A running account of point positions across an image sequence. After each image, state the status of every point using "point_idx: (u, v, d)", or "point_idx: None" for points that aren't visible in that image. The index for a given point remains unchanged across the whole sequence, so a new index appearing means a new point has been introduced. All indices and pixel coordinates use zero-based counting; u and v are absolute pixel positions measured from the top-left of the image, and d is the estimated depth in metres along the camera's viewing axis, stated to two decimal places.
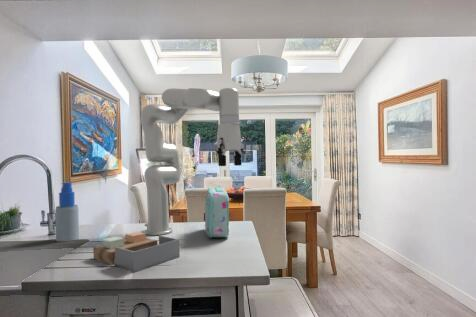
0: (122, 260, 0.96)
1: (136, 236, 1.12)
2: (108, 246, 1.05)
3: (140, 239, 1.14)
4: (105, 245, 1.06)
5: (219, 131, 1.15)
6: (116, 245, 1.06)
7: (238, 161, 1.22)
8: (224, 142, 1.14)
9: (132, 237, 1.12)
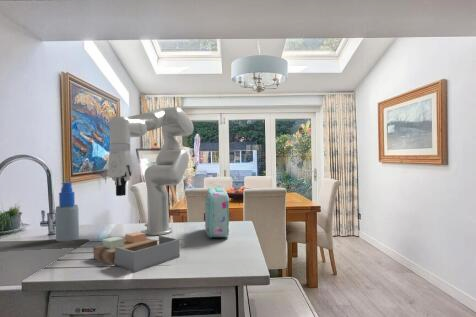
0: (122, 260, 0.96)
1: (136, 236, 1.12)
2: (108, 246, 1.05)
3: (140, 239, 1.14)
4: (105, 245, 1.06)
5: (125, 158, 1.17)
6: (116, 245, 1.06)
7: None
8: (129, 175, 1.19)
9: (132, 237, 1.12)
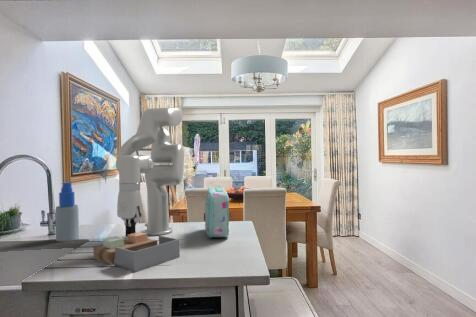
0: (122, 260, 0.96)
1: (138, 236, 1.12)
2: (108, 246, 1.05)
3: (142, 240, 1.13)
4: (105, 245, 1.06)
5: (135, 199, 1.13)
6: (116, 245, 1.06)
7: None
8: (139, 216, 1.15)
9: (134, 237, 1.11)
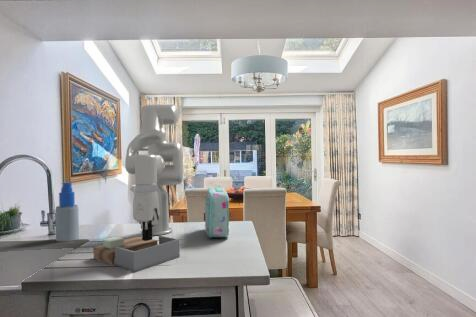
0: (122, 260, 0.96)
1: None
2: (108, 246, 1.05)
3: None
4: (105, 245, 1.06)
5: (152, 201, 1.07)
6: (116, 245, 1.06)
7: None
8: None
9: None
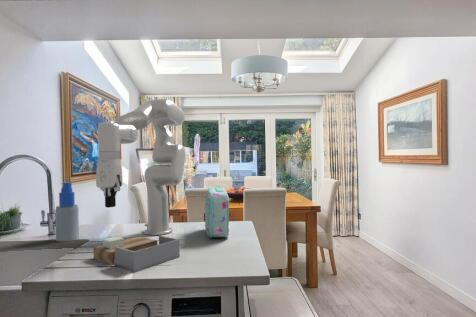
0: (122, 260, 0.96)
1: None
2: (108, 246, 1.05)
3: None
4: (105, 245, 1.06)
5: (115, 168, 1.09)
6: (116, 245, 1.06)
7: None
8: None
9: None
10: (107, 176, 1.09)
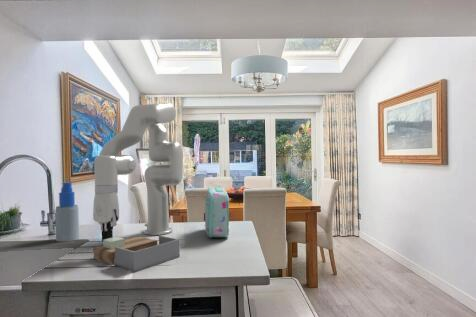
0: (122, 260, 0.96)
1: None
2: (109, 246, 1.05)
3: None
4: (106, 245, 1.06)
5: (111, 202, 1.06)
6: (117, 245, 1.06)
7: None
8: (116, 220, 1.09)
9: None
10: (103, 211, 1.06)
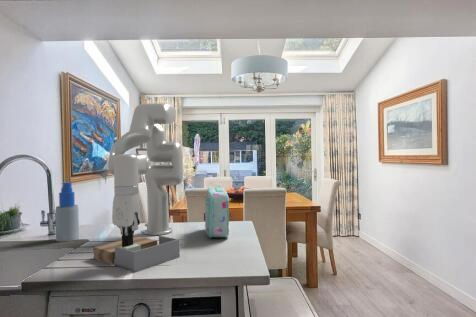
0: (122, 260, 0.96)
1: None
2: None
3: None
4: None
5: (132, 205, 0.99)
6: None
7: None
8: None
9: None
10: (124, 214, 0.99)
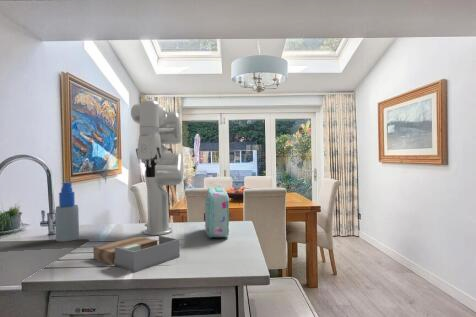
0: (122, 260, 0.96)
1: None
2: None
3: None
4: None
5: (155, 141, 1.21)
6: None
7: None
8: (159, 157, 1.23)
9: None
10: (148, 148, 1.21)
